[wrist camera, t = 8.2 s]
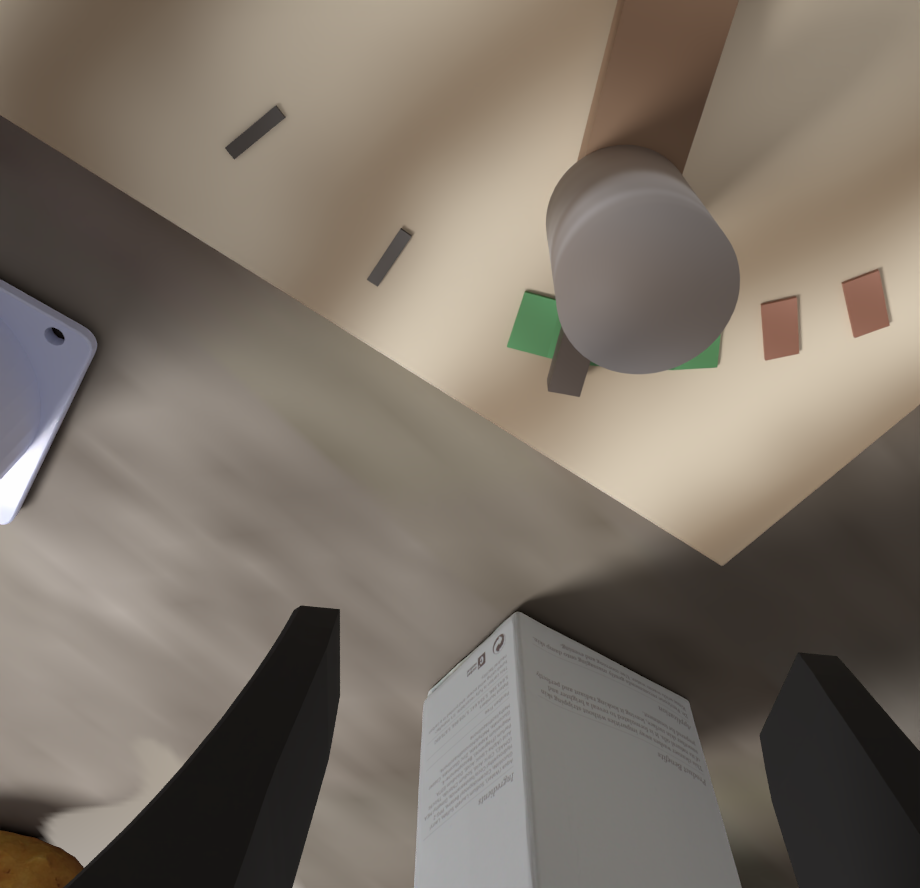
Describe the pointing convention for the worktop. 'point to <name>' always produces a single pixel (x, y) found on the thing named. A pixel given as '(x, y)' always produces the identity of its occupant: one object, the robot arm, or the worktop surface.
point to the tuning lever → (641, 204)
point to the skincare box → (562, 774)
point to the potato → (34, 863)
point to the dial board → (528, 210)
